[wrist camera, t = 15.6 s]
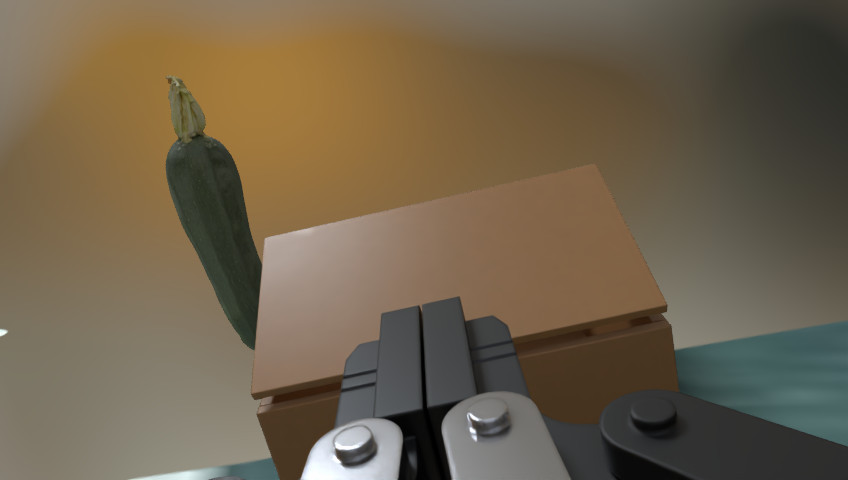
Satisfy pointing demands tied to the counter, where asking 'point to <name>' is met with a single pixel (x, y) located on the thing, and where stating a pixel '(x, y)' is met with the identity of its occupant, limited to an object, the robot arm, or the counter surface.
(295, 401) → the carton
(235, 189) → the vegetable
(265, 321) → the flap
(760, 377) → the counter surface
